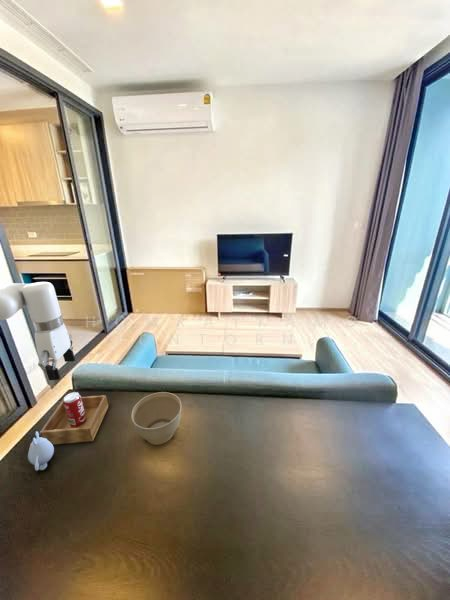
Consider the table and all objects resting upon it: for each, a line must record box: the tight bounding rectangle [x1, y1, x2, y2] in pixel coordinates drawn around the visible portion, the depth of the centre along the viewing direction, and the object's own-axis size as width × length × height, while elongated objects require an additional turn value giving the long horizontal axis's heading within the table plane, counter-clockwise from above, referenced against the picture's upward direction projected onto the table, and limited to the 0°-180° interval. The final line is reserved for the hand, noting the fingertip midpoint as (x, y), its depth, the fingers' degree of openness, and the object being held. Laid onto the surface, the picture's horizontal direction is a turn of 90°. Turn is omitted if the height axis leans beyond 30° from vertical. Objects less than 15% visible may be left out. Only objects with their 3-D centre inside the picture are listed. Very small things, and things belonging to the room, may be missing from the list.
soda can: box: [63, 391, 87, 428], centre depth 88 cm, size 5×5×12 cm
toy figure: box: [27, 431, 55, 472], centre depth 74 cm, size 11×6×12 cm, turn 21°
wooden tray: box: [39, 394, 109, 446], centre depth 90 cm, size 16×16×6 cm
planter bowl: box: [130, 391, 182, 446], centre depth 85 cm, size 16×16×11 cm
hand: (63, 369), depth 82 cm, fingers open, 9 cm apart
